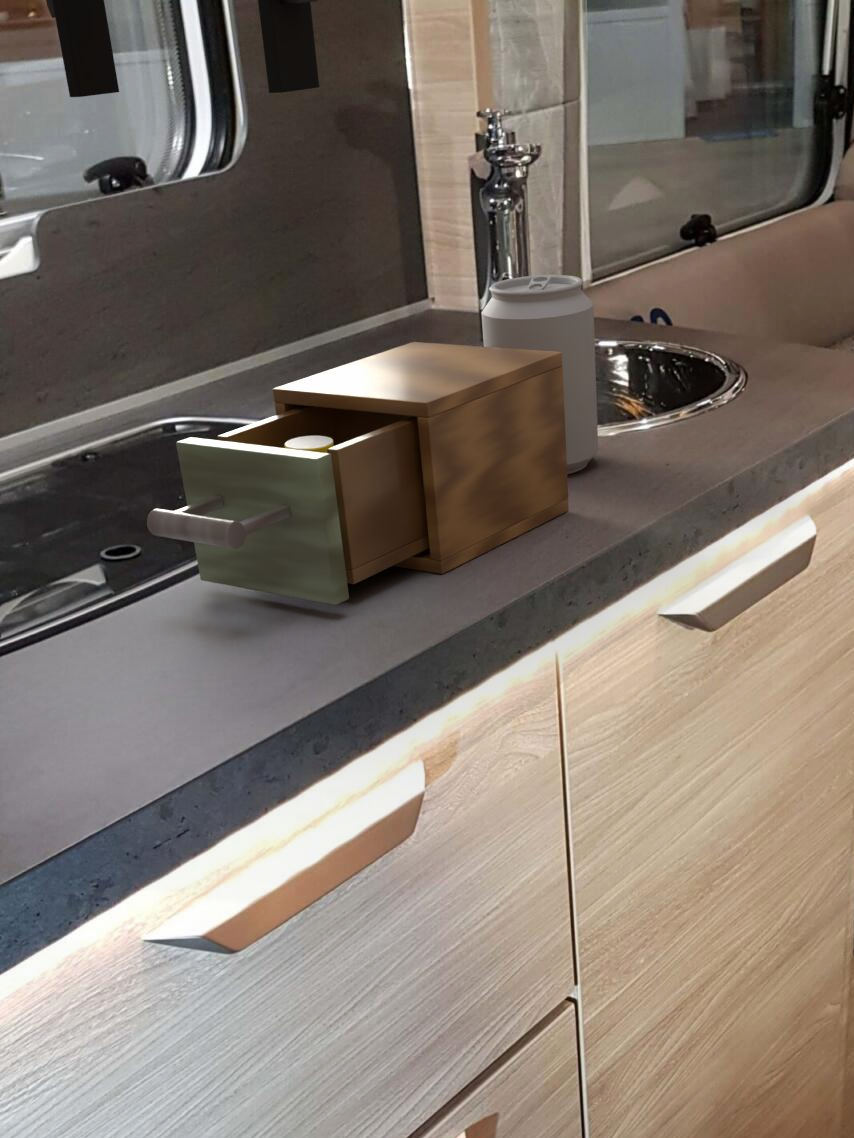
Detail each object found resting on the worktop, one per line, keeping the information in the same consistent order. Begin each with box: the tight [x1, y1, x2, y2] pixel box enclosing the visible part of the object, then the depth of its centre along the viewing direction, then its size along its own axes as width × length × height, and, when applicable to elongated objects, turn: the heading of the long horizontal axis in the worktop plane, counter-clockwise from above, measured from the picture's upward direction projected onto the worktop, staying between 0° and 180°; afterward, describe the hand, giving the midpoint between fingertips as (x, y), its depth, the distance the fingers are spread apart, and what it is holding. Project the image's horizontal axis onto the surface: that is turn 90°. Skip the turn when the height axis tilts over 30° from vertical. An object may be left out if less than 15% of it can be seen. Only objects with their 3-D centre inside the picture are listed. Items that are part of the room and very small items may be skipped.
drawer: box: [146, 406, 430, 606], centre depth 88 cm, size 18×10×8 cm, turn 145°
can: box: [481, 274, 599, 475], centre depth 105 cm, size 8×8×12 cm
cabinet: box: [272, 341, 570, 575], centre depth 95 cm, size 14×12×10 cm
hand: (190, 93), depth 75 cm, fingers open, 13 cm apart
